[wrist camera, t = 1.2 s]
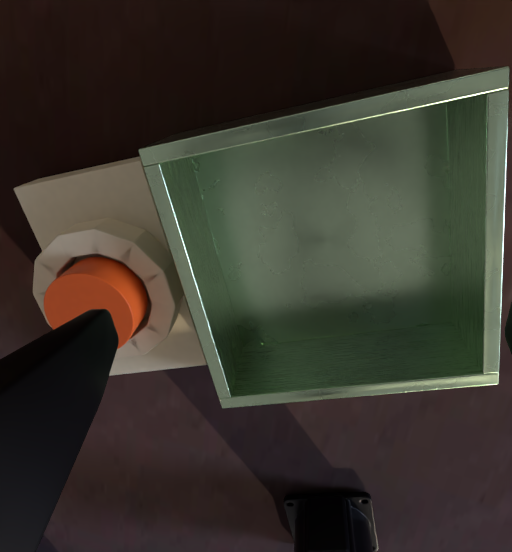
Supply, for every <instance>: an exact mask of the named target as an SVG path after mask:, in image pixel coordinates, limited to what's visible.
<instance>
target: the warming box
mask: <svg viewBox="0 0 512 552" xmlns="http://www.w3.org/2000/svg"><path fill="white" fill-rule="evenodd" d="M509 69H510V68H509V66H502V67H488V68H473V69H458V70H453V71H448V72H444V73H439V74H435V75H431V76H426V77H422V78H418V79H413V80H409V81H404V82H400V83H396V84H391V85H387V86H382V87H378V88H374V89H369V90H365V91H360V92H356V93H352V94H347V95H343V96H338V97H334V98H330V99H325V100H321V101H316V102H312V103H308V104H303V105H299V106H295V107H290V108H286V109H281V110H277V111H273V112H268V113H264V114H259V115H255V116H251V117H246V118H242V119H237V120H233V121H229V122H224V123H220V124H215V125H211V126H207V127H202V128H198V129H194V130H189V131H185V132H180V133H176V134H174V135H171V136H169V137H166V138H164V139H162V140H159V141H157V142H154V143H152V144H149V145H147V146H145V147H142V148H140V149H138V151H139V154H140V157H141V161H142V164H143V166H145V167H144V170H145V173H146V176H147V179H148V182H149V185H150V189H151V192H152V195H153V198H154V201H155V204H156V207H157V210H158V213H159V216H160V219H161V222H162V226H163V229H164V232H165V235H166V238H167V241H168V244H169V247H170V250H171V253H172V256H173V259H174V262H175V266H176V269H177V272H178V275H179V278H180V281H181V284H182V287H183V290H184V293H185V296H186V299H187V303H188V306H189V309H190V312H191V315H192V318H193V321H194V324H195V327H196V330H197V333H198V336H199V339H200V343H201V346H202V349H203V352H204V355H205V358H206V361H207V364H208V367H209V370H210V373H211V376H212V380H213V383H214V386H215V389H216V392H217V395H218V398H219V401H220V404H221V407H222V408H234V407H246V406H257V405H268V404H280V403H291V402H302V401H314V400H325V399H336V398H348V397H359V396H370V395H381V394H393V393H404V392H415V391H427V390H438V389H449V388H461V387H472V386H483V385H494V384H498V383H499V359H500V330H501V302H502V274H503V245H504V217H505V189H506V160H507V132H508V104H509V89H507V88H508V87H509Z"/></svg>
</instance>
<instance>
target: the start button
mask: <svg viewBox="0 0 512 552" xmlns="http://www.w3.org/2000/svg"><path fill="white" fill-rule="evenodd" d="M91 309H107V310H108V311H109V312H110V314H111V316H112V319H113V322H114V325H115V328H116V331H117V334H118V338H119V344H118V348H117V349H119V348H121V347H122V346H123V345H124V344H126V343H127V341H128V340H129V339H130V337H131V336H132V334H133V333H134V331H135V330H136V328H137V327H138V325H139V324H140V323H141V321H142V320H143V318H144V316H145V314H146V311H147V295H146V291H145V289H144V286H143V284H142V283H141V281H140V280H139V278H138V277H137V276H136V275H135V274H134V272H133V271H131V270H130V269H129V268H128V267H126V266H125V265H123V264H121V263H120V262H118V261H115V260H113V259H109V258H104V257H89V258H85V259H83V260H80V261H78V262H77V263H75V264H74V265H73V266H72V267H70V268H69V269H68V270H67V271H65V272H64V273H63V274H61V275H60V276H59V277H58V278H56V279H55V280H54V281H53V282H52V283H51V284H50V285H49V287H48V288H47V290H46V293H45V296H44V311H45V315H46V318H47V320H48V322H49V324H50V326H51V327H52V328H53V330H54V329H56V328H58V327H59V326H61V325H63V324H65V323H66V322H68V321H70V320H72V319H74V318H75V317H77V316H79V315H81V314H83V313H84V312H86V311H88V310H91Z"/></svg>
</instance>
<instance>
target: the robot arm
mask: <svg viewBox="0 0 512 552" xmlns="http://www.w3.org/2000/svg"><path fill="white" fill-rule="evenodd" d="M505 337H506V341H507V343H508V346H509V348H510V351H511V354H512V303H511V307H510V311H509V315H508V319H507V322H506V326H505ZM118 344H119V338H118V334H117V331H116V328H115V325H114V322H113V319H112V316H111V314H110V312H109V311H108V310H107V309H91V310H88V311H86V312H84V313H83V314H81V315H79V316H77V317H75V318H74V319H72V320H70V321H68V322H66V323H65V324H63V325H61V326H59V327H58V328H56V329H54V330H52V331H50V332H49V333H47V334H45V335H43V336H41V337H40V338H38V339H36V340H34V341H32V342H31V343H29V344H27V345H25V346H23V347H22V348H20V349H18V350H16V351H14V352H13V353H11V354H9V355H7V356H6V357H4V358H2V359H0V552H36V550H37V548H38V545H39V543H40V541H41V539H42V536H43V534H44V532H45V529H46V527H47V525H48V522H49V520H50V518H51V515H52V513H53V511H54V509H55V506H56V504H57V502H58V499H59V497H60V495H61V492H62V490H63V488H64V485H65V483H66V481H67V479H68V476H69V474H70V472H71V469H72V467H73V465H74V462H75V460H76V458H77V455H78V453H79V451H80V449H81V446H82V444H83V442H84V439H85V437H86V435H87V432H88V430H89V428H90V425H91V423H92V421H93V419H94V416H95V414H96V412H97V409H98V407H99V404H100V402H101V399H102V396H103V393H104V390H105V387H106V384H107V381H108V377H109V374H110V371H111V368H112V364H113V361H114V358H115V355H116V351H117V348H118ZM284 507H285V510H286V514H287V517H288V521H289V525H290V528H291V532H292V535H293V539H294V552H375V551H377V550H378V543H377V536H376V529H375V522H374V516H373V509H372V502H371V496H370V494H369V493H366V492H352V493H330V494H308V495H288V496H286V497H285V498H284Z"/></svg>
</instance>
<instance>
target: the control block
mask: <svg viewBox="0 0 512 552" xmlns="http://www.w3.org/2000/svg"><path fill="white" fill-rule="evenodd" d="M144 167H145V166H143V164H142V161H141V157H135V158H131V159H126V160H121V161H117V162H112V163H108V164H103V165H99V166H94V167H90V168H85V169H81V170H76V171H71V172H67V173H62V174H58V175H53V176H49V177H44V178H40V179H37V180H34V181H31V182H28V183H26V184H23V185H20V186H18V187H15V188H14V191H15V193H16V195H17V198H18V200H19V202H20V204H21V206H22V208H23V211H24V213H25V215H26V217H27V219H28V221H29V223H30V226H31V228H32V230H33V232H34V234H35V236H36V239H37V241H38V243H39V245H40V247H41V249H42V252H41V253H40V254H39V256H38V257H37V258H36V260H35V265H34V280H33V295H34V297H35V299H36V301H37V303H38V305H39V307H40V309H41V311H42V313H43V315H44V317H45V319H46V321H47V323H48V324H49V322H48V320H47V318H46V315H45V311H44V296H45V293H46V290H47V288H48V287H49V285H50V284H51V283H52V282H53V281H54V280H55V279H56V278H58V277H59V276H60V275H61V274H63V273H64V272H65V271H67V270H68V269H69V268H70V267H72V266H73V265H74V264H75V263H77V262H78V261H80V260H83V259H85V258H89V257H104V258H109V259H113V260H115V261H118V262H120V263H121V264H123V265H125V266H126V267H128V268H129V269H130V270H131V271H133V272H134V274H135V275H136V276H137V277H138V278H139V280H140V281H141V283H142V284H143V286H144V289H145V291H146V295H147V311H146V314H145V316H144V318H143V320H142V321H141V323H140V324H139V325H138V327H137V328H136V330H135V331H134V333H133V334H132V336H131V337H130V339H129V340H128V341H127V343H126V344H124V345H123V346H122V347H121V348H119V349H117V351H116V355H115V358H114V361H113V364H112V368H111V371H110V374H109V376H110V375H119V374H128V373H137V372H146V371H155V370H164V369H173V368H182V367H191V366H200V365H207V361H206V358H205V355H204V352H203V349H202V346H201V343H200V339H199V336H198V333H197V330H196V327H195V324H194V321H193V318H192V315H191V312H190V309H189V306H188V303H187V299H186V296H185V293H184V290H183V287H182V284H181V281H180V278H179V275H178V272H177V269H176V266H175V262H174V259H173V256H172V253H171V250H170V247H169V244H168V241H167V238H166V235H165V232H164V229H163V226H162V222H161V219H160V216H159V213H158V210H157V207H156V204H155V201H154V198H153V195H152V192H151V189H150V185H149V182H148V179H147V176H146V173H145V170H144ZM49 325H50V324H49Z"/></svg>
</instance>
